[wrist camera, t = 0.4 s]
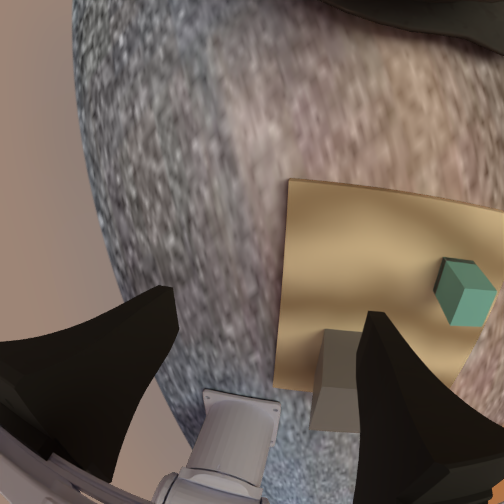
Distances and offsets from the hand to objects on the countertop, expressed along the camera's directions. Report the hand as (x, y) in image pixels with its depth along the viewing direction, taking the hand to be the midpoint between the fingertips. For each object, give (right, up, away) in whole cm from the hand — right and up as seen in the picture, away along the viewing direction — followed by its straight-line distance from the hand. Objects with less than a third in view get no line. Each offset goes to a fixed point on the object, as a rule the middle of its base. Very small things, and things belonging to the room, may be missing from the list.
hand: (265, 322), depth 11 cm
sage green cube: (+13, +1, +7) cm, 15 cm away
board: (+10, -2, +10) cm, 14 cm away
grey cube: (+7, -6, +11) cm, 14 cm away
